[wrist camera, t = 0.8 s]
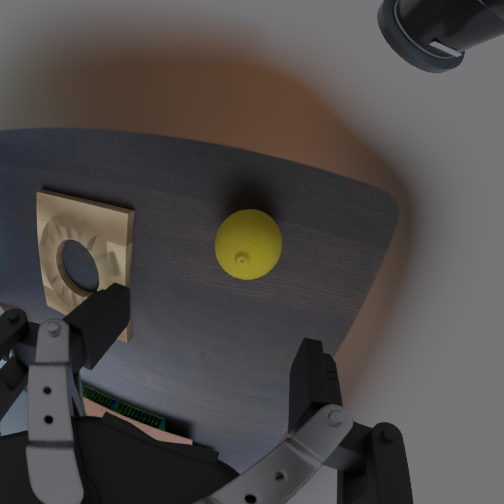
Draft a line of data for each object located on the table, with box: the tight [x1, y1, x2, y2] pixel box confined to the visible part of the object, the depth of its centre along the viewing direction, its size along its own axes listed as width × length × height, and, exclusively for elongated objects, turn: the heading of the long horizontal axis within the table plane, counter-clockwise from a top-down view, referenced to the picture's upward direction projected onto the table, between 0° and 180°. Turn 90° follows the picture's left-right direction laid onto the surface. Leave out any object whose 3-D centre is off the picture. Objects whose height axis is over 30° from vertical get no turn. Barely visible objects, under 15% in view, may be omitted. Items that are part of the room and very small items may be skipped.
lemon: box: [215, 209, 282, 280], centre depth 23 cm, size 6×6×8 cm
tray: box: [37, 190, 135, 343], centre depth 30 cm, size 18×16×2 cm
